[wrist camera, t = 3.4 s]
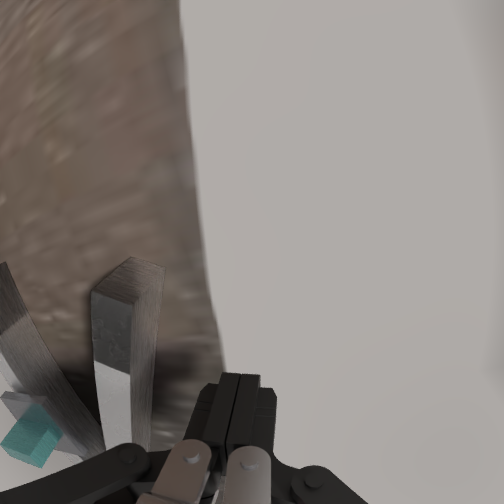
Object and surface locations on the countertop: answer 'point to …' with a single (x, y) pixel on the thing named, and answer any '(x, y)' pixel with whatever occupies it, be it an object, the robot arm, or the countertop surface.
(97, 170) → the countertop surface
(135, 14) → the countertop surface
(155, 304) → the arm
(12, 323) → the base
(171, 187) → the countertop surface
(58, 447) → the lock plate
